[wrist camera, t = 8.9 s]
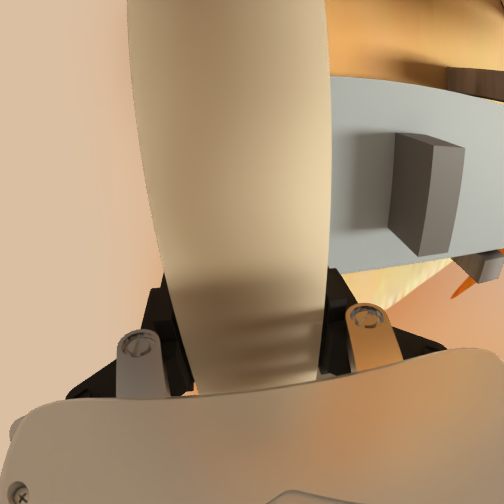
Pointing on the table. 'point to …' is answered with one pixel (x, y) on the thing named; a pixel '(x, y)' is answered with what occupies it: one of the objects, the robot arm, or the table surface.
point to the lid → (412, 174)
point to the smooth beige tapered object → (238, 179)
